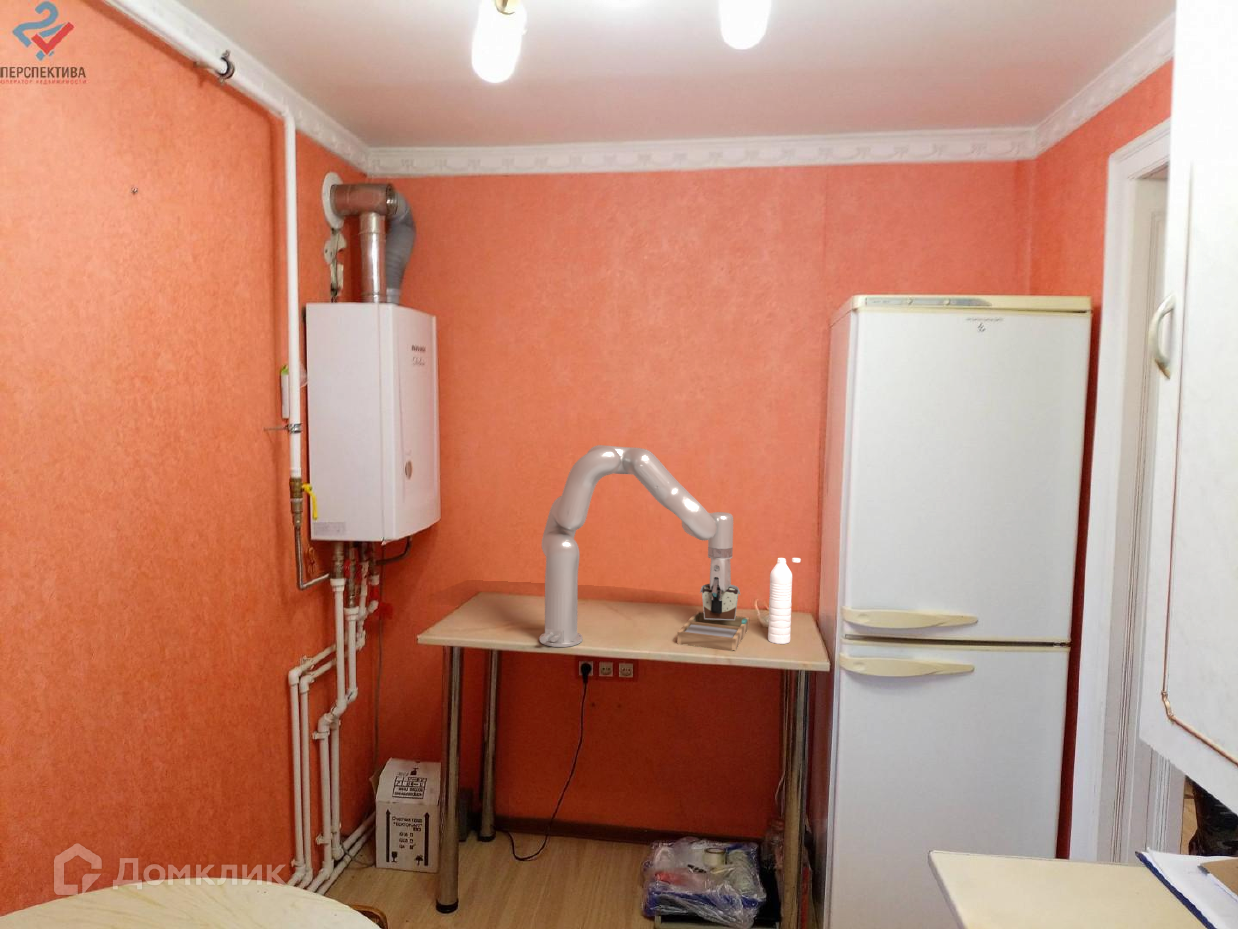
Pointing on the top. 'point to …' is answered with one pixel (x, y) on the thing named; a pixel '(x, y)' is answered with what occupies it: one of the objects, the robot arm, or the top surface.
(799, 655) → the top surface
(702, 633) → the compartment tray
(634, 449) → the robot arm
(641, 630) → the top surface
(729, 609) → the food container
